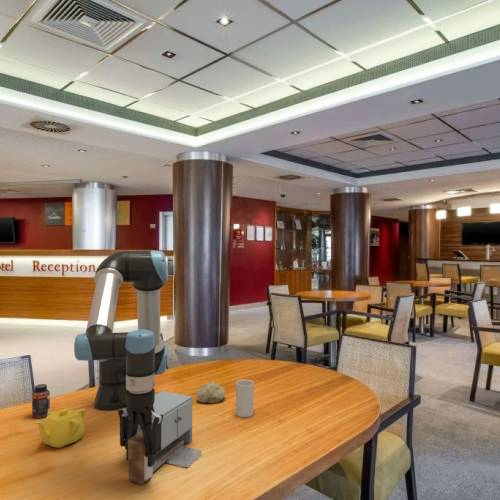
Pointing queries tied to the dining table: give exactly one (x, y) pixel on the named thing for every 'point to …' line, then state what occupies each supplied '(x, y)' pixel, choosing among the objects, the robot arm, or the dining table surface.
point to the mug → (244, 398)
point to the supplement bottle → (40, 401)
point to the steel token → (184, 456)
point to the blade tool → (137, 456)
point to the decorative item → (211, 393)
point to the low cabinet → (173, 417)
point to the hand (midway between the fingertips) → (140, 475)
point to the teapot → (62, 427)
